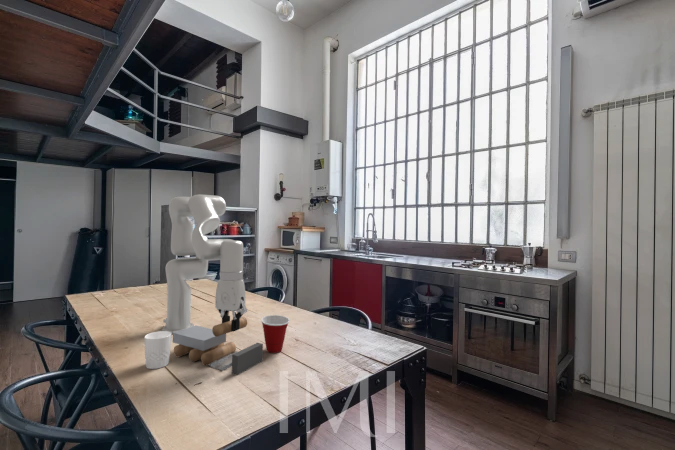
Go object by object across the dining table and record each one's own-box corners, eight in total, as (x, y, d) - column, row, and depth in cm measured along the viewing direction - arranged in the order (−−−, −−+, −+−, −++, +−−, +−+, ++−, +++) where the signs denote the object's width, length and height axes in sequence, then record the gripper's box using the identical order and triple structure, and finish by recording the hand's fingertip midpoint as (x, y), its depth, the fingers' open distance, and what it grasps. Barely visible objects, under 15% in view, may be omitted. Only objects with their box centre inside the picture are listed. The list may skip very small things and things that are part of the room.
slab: (172, 342, 117) (172, 332, 117) (195, 334, 126) (196, 325, 126) (203, 350, 109) (203, 340, 109) (225, 341, 118) (226, 332, 118)
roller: (213, 323, 106) (220, 328, 104) (241, 315, 116) (248, 319, 115) (211, 333, 107) (218, 338, 105) (239, 324, 117) (245, 329, 115)
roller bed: (173, 355, 115) (173, 344, 115) (201, 345, 126) (201, 334, 126) (209, 366, 107) (209, 354, 107) (235, 354, 117) (236, 343, 118)
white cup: (151, 372, 102) (152, 340, 102) (138, 366, 106) (139, 335, 106) (175, 363, 109) (176, 334, 109) (162, 358, 113) (163, 329, 113)
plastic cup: (274, 358, 114) (274, 324, 114) (254, 351, 121) (254, 319, 121) (295, 349, 123) (295, 318, 123) (275, 342, 129) (276, 313, 130)
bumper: (231, 373, 102) (232, 354, 102) (257, 359, 113) (257, 342, 113) (237, 375, 101) (237, 356, 101) (262, 361, 112) (262, 343, 112)
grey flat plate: (209, 366, 107) (209, 363, 107) (235, 354, 118) (235, 351, 118) (222, 370, 104) (222, 367, 104) (248, 357, 115) (248, 354, 115)
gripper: (205, 275, 111) (204, 328, 111) (242, 279, 104) (241, 336, 104) (222, 273, 118) (221, 323, 118) (257, 276, 110) (256, 330, 110)
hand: (230, 328), depth 111 cm, fingers closed on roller, 3 cm apart
